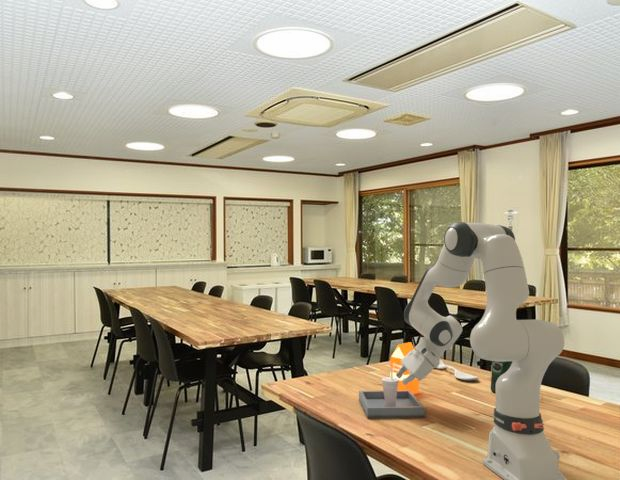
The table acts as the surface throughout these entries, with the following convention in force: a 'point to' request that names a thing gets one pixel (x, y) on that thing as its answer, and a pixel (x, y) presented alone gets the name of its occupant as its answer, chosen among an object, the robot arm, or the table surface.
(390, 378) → the smoothie
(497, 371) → the coffee jar
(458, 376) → the spoon
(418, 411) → the tray
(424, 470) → the table surface
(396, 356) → the orange juice
